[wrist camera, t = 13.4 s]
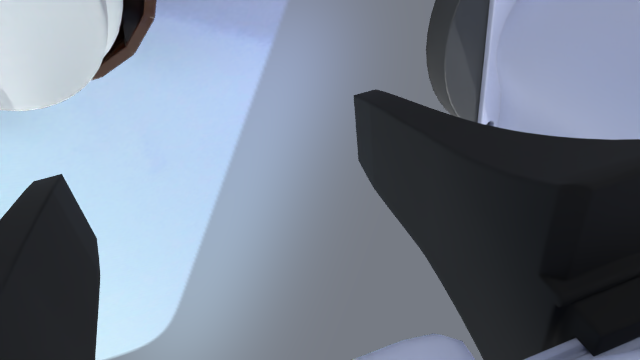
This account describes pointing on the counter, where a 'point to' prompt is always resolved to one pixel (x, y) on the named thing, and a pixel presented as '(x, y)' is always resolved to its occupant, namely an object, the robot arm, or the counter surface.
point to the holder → (128, 34)
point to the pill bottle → (52, 48)
